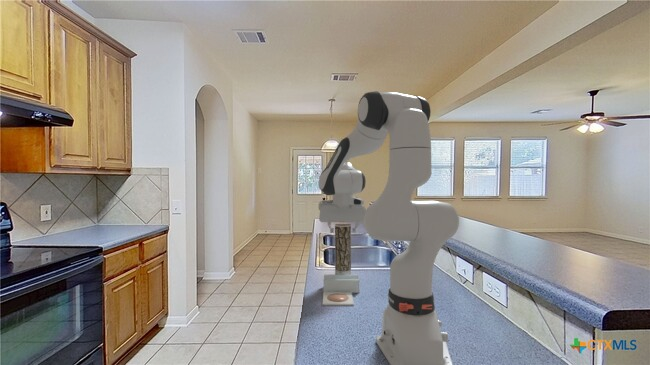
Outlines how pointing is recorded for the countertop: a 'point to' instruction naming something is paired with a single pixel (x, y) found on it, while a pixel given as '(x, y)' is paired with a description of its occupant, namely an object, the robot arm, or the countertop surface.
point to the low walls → (341, 283)
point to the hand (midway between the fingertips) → (342, 232)
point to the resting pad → (338, 298)
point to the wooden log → (342, 249)
